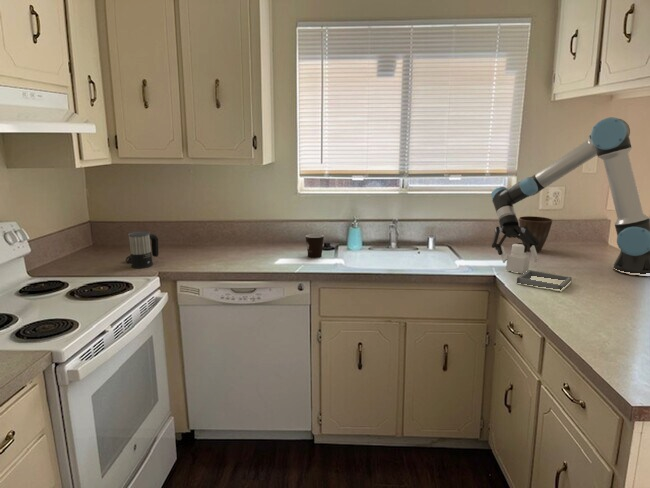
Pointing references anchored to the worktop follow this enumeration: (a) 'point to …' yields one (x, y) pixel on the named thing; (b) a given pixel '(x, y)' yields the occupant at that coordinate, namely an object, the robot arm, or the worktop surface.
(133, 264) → the milk frother
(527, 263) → the medicine bottle
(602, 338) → the worktop surface
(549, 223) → the plant pot
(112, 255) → the worktop surface
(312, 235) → the coffee mug
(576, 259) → the worktop surface
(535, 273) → the tray
